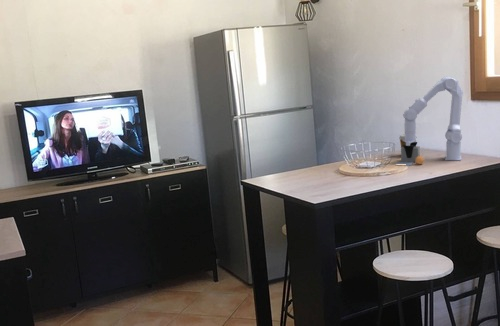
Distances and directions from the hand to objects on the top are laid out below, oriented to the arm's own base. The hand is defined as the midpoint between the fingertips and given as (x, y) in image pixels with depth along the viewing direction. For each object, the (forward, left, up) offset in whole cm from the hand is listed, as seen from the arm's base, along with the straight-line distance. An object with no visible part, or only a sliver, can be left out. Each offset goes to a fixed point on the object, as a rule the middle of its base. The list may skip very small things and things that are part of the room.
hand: (410, 156), depth 289 cm
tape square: (+7, -2, -3) cm, 8 cm away
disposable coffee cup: (-15, -4, -3) cm, 15 cm away
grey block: (0, 0, -3) cm, 3 cm away
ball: (+7, +6, 0) cm, 10 cm away
